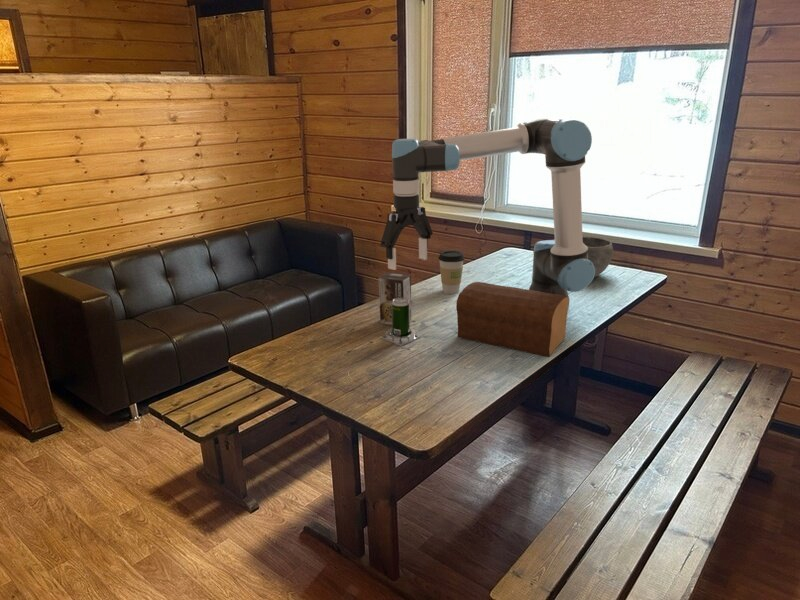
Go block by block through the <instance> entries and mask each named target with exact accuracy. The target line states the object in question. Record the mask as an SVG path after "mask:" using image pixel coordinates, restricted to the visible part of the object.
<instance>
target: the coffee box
mask: <svg viewBox="0 0 800 600" xmlns="http://www.w3.org/2000/svg"><path fill="white" fill-rule="evenodd" d="M411 276H412V275H411V274H404V273H396V272H395V273H394V272H385V273H383V274H382V275H381V276H379V277H378V290H379V291H378V292H379V293H378V294H379V298H378V299H379V317H380V319H379V323H380V324H383V325H391V326H392V302H393V301H392V300H393V299H394V298H398V297H403V298H407V299H408V300H409V323H411V322H412V287H411V286H412V279H411Z"/></svg>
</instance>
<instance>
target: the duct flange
mask: <svg viewBox="0 0 800 600" xmlns="http://www.w3.org/2000/svg"><path fill="white" fill-rule="evenodd" d="M380 338H381V339H383V340H386V341H387V342H390V343H393V344H395V345H396V346H400V347H402V346H405V345H407V344H409V343H411V342H414V341H416V340H418V339H420V338H422V335H420V334H417V332H416V330H415V329H414V328H412V327H410V334H409V335H408V336H403V337H397V336H393V334H392V327H391V328H389V329H387V330H386V331H385V334H383V335H380Z"/></svg>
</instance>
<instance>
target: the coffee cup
mask: <svg viewBox="0 0 800 600" xmlns="http://www.w3.org/2000/svg"><path fill="white" fill-rule="evenodd" d="M438 260H439V273H440V279H441V280H440V281H441V286H442V287H441V288H442V293H443V294H446V295H457V294H460V289H461V282H462V275H463V269H464V260H465V255H464V253H463V252H462V251H459V250H444V251H440V254H439V255H438Z"/></svg>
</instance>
